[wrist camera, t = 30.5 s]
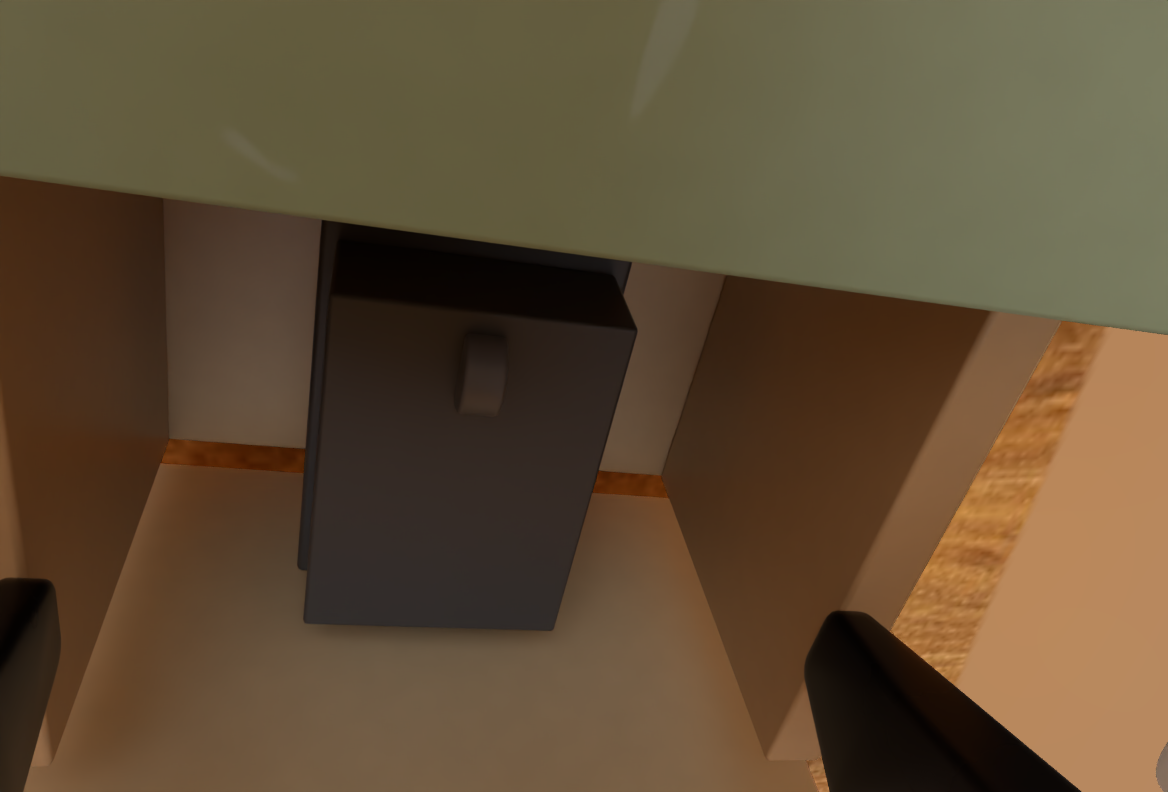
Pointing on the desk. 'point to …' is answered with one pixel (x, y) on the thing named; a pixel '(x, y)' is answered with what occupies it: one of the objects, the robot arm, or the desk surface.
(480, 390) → the stepped box with knob
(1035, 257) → the cabinet
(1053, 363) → the desk surface
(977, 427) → the drawer
